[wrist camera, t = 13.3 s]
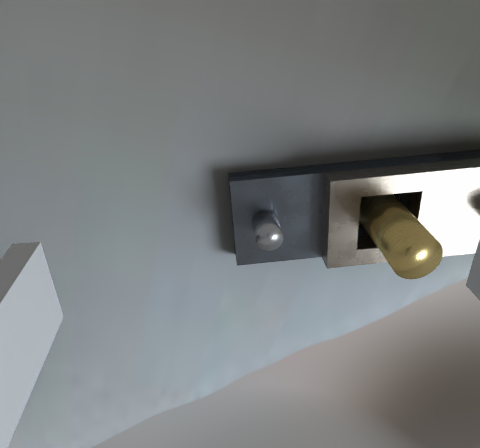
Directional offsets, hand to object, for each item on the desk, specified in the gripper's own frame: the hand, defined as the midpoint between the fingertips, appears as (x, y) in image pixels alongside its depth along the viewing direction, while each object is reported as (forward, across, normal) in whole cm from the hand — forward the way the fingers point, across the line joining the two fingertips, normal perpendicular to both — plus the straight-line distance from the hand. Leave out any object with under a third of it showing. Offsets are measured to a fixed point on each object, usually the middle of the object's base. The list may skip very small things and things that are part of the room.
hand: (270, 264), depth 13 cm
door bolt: (+26, -14, +11) cm, 31 cm away
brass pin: (+26, -14, +11) cm, 31 cm away
